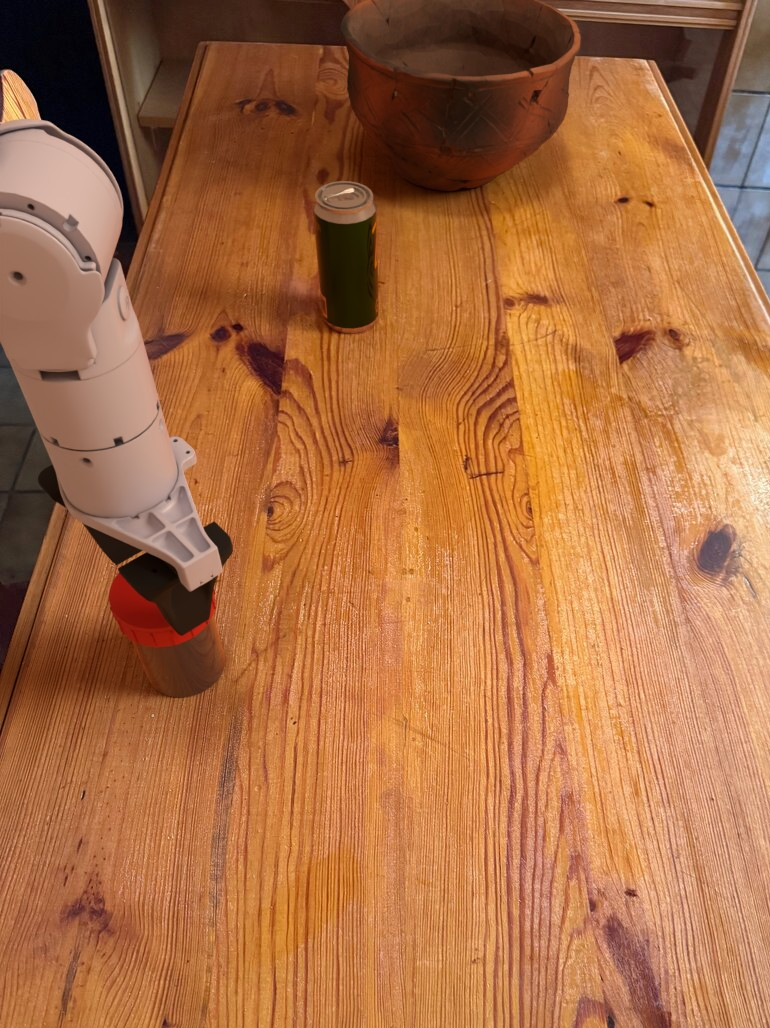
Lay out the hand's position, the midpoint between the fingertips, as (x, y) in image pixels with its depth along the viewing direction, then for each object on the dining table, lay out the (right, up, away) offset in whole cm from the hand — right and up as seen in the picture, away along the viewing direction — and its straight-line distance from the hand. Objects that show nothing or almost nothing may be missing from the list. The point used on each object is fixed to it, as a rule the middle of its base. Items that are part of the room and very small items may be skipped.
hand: (159, 588), depth 53 cm
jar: (0, -5, +7) cm, 8 cm away
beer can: (+8, +26, +31) cm, 41 cm away
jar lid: (0, 0, 0) cm, 0 cm away
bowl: (+18, +49, +50) cm, 72 cm away
